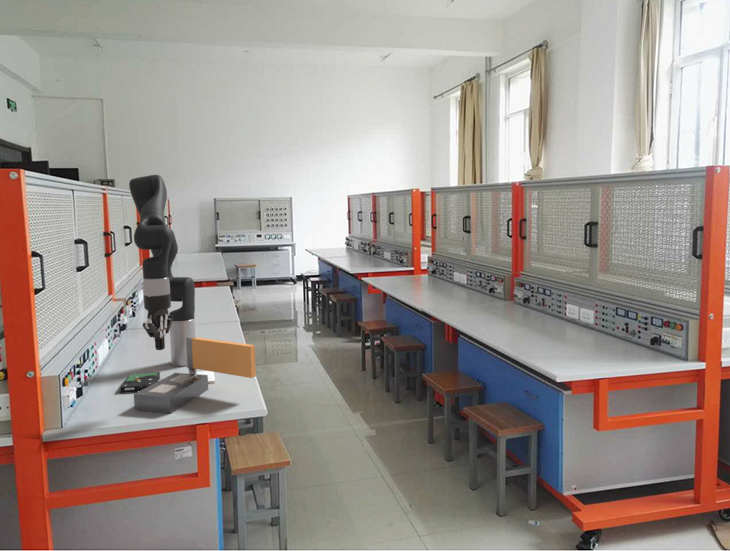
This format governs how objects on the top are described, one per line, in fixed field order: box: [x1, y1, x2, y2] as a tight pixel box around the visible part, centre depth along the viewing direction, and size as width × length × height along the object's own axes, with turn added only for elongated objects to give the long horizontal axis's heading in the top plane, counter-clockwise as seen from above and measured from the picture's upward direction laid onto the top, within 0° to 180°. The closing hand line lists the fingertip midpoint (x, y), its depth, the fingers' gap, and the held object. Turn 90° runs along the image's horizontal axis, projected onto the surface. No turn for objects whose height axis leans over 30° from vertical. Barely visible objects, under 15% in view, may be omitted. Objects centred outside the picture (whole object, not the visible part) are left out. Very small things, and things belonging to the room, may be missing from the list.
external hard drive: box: [196, 370, 216, 384], centre depth 201 cm, size 2×8×12 cm
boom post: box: [188, 368, 197, 374], centre depth 192 cm, size 2×2×7 cm
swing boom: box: [186, 336, 257, 379], centre depth 185 cm, size 27×3×10 cm, turn 62°
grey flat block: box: [133, 372, 209, 415], centre depth 180 cm, size 22×12×5 cm, turn 166°
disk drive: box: [119, 371, 161, 393], centre depth 195 cm, size 10×3×15 cm
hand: (160, 349), depth 174 cm, fingers closed
